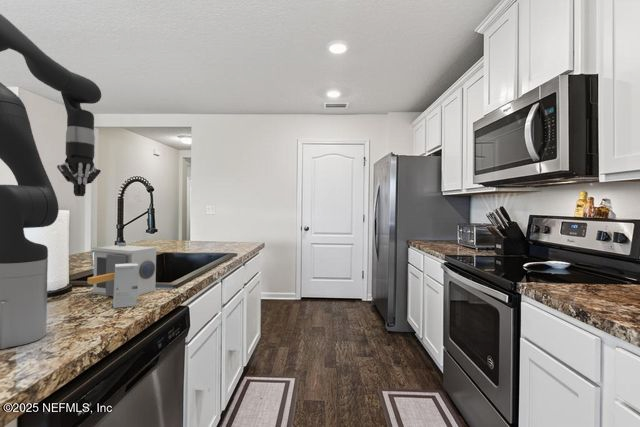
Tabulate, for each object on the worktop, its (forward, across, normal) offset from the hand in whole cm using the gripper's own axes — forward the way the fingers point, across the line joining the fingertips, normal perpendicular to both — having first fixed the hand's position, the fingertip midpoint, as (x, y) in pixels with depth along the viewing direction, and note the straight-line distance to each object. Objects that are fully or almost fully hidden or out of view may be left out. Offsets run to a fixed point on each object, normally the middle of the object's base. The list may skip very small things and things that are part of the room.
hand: (79, 196), depth 105 cm
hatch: (+31, +3, +14) cm, 35 cm away
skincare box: (+32, +3, +24) cm, 40 cm away
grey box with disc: (+32, -8, +11) cm, 35 cm away
